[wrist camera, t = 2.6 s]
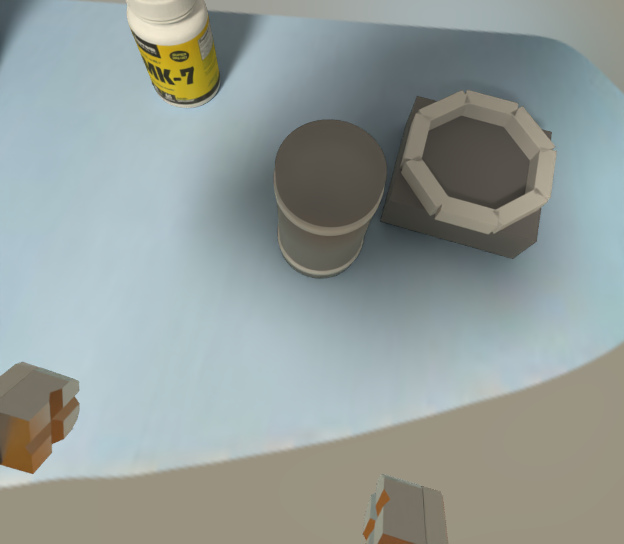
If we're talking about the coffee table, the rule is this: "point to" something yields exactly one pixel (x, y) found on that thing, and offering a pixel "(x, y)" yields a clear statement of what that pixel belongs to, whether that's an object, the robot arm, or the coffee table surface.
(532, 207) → the octagonal ring tray
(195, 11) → the supplement bottle
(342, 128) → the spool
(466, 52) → the coffee table surface
